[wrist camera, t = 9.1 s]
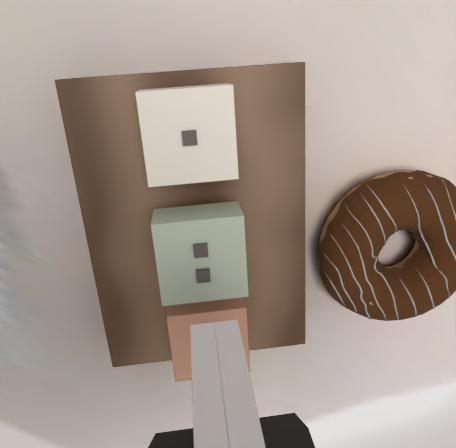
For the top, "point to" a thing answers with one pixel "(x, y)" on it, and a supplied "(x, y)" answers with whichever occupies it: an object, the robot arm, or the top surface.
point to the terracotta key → (199, 314)
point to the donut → (376, 238)
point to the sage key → (200, 252)
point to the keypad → (190, 201)
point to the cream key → (188, 134)
